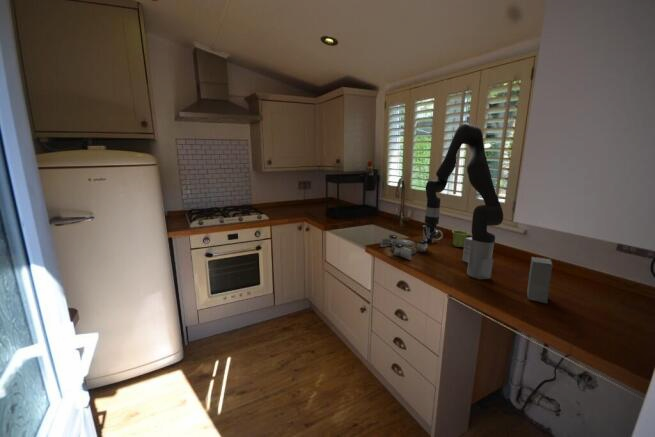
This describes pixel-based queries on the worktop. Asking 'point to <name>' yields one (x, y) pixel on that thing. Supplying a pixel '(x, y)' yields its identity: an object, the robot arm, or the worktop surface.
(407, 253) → the footscrew left
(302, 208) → the worktop surface
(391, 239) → the footscrew far
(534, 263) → the skincare box
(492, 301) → the worktop surface
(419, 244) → the footscrew right
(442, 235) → the mug
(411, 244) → the level instrument
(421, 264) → the worktop surface
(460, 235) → the plant pot
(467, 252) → the supplement box
